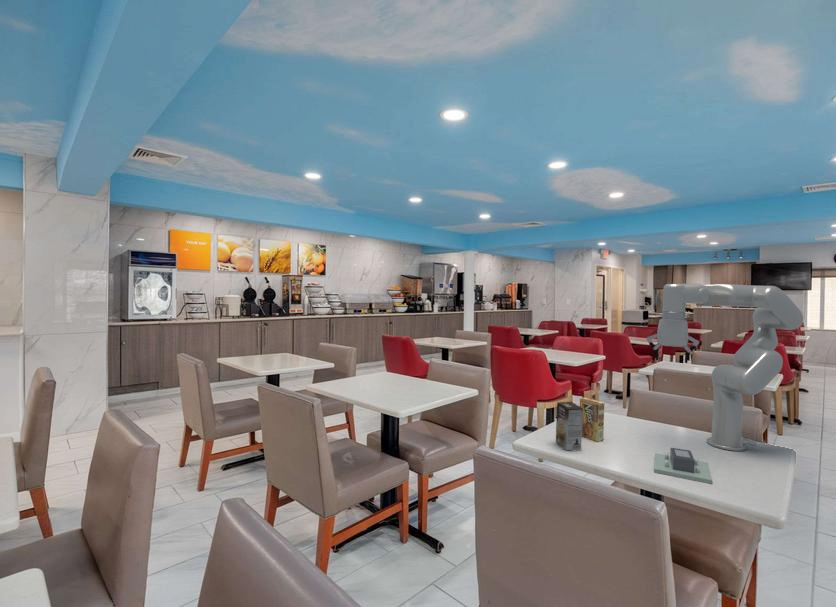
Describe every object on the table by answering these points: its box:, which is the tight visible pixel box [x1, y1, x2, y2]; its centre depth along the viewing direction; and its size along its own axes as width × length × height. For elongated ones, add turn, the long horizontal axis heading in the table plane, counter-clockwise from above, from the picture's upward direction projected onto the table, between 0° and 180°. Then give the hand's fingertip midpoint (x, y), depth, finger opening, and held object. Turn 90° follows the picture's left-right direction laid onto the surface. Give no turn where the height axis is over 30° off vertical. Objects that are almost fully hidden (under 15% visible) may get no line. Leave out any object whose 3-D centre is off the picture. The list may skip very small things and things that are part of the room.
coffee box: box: [555, 401, 583, 451], centre depth 166 cm, size 9×6×16 cm
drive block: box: [669, 447, 695, 473], centre depth 147 cm, size 6×10×4 cm, turn 155°
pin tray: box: [653, 452, 713, 485], centre depth 147 cm, size 16×16×3 cm
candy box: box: [579, 397, 605, 442], centre depth 176 cm, size 9×4×15 cm, turn 33°
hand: (671, 361), depth 166 cm, fingers open, 9 cm apart
